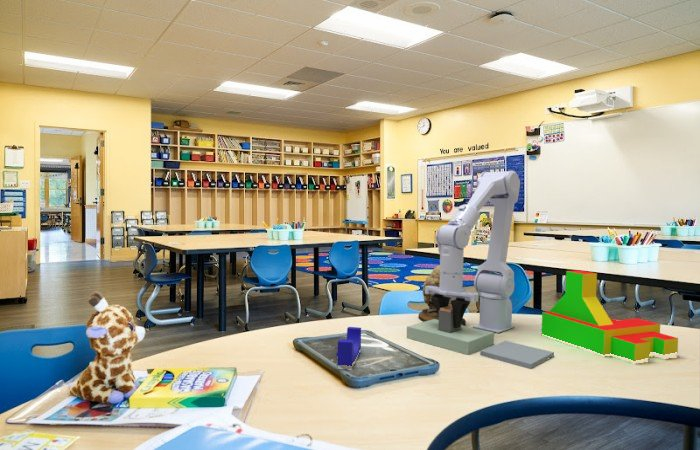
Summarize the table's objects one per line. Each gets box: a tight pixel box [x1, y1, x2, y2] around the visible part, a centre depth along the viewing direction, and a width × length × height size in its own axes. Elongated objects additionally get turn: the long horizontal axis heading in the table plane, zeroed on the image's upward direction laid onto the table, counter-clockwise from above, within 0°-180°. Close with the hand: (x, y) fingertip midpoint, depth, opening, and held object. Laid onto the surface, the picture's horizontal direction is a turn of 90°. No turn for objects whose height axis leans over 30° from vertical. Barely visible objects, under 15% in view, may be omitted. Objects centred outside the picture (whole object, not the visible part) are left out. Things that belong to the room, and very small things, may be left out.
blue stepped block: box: [336, 326, 362, 366], centre depth 103 cm, size 12×4×6 cm, turn 170°
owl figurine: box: [418, 264, 467, 326], centre depth 139 cm, size 18×12×17 cm, turn 27°
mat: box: [479, 340, 555, 369], centre depth 108 cm, size 12×12×1 cm
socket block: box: [406, 319, 495, 356], centre depth 119 cm, size 12×18×3 cm, turn 45°
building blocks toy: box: [541, 269, 679, 361], centre depth 118 cm, size 19×25×18 cm
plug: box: [438, 305, 461, 333], centre depth 119 cm, size 5×4×9 cm
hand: (449, 325), depth 119 cm, fingers closed on plug, 3 cm apart
